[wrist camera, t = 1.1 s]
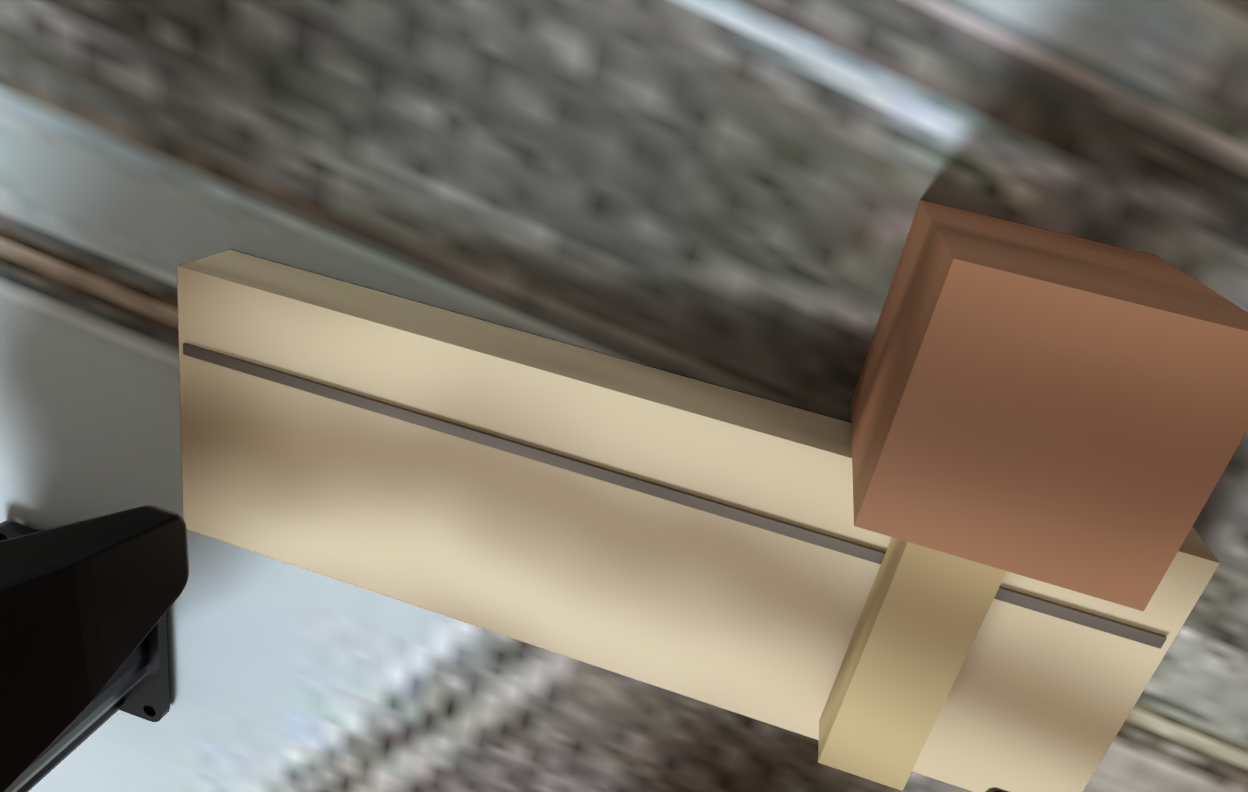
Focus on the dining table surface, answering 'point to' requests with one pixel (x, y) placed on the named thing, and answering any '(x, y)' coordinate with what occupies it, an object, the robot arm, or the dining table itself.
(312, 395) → the board
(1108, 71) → the dining table surface
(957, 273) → the wooden mallet
